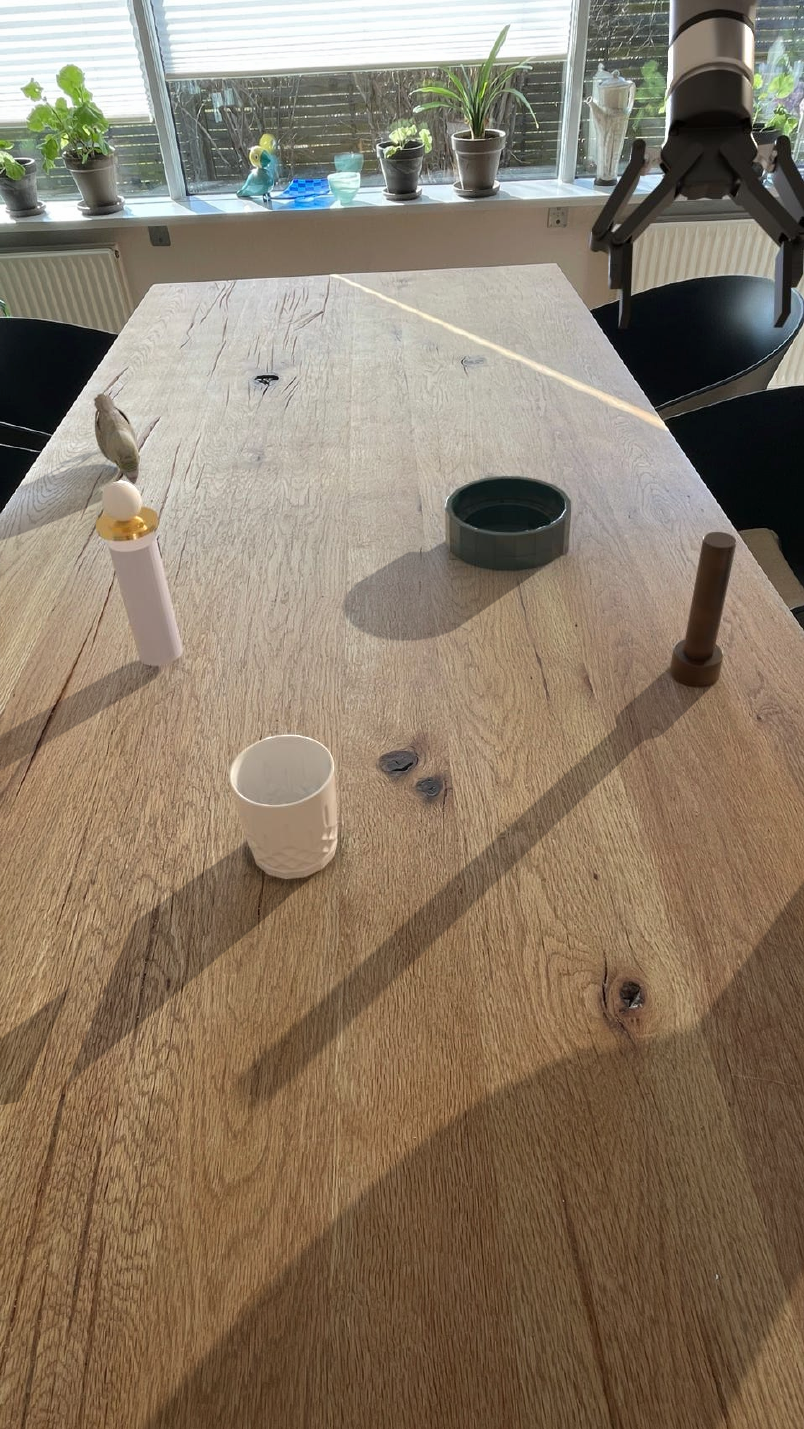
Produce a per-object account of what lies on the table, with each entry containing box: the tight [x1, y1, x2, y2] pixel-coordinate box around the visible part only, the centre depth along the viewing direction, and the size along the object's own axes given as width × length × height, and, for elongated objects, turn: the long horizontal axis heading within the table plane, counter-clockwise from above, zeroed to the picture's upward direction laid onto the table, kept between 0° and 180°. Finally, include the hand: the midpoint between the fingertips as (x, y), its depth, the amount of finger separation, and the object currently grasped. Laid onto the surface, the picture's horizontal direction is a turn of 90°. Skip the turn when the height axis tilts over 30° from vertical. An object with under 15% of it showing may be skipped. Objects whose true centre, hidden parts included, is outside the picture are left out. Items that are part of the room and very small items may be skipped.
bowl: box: [444, 475, 572, 572], centre depth 111 cm, size 14×14×6 cm
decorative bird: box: [93, 393, 141, 485], centre depth 135 cm, size 5×16×7 cm, turn 24°
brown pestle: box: [669, 531, 738, 689], centre depth 87 cm, size 5×5×16 cm
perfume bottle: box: [95, 480, 184, 667], centre depth 93 cm, size 6×6×20 cm
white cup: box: [228, 734, 339, 880], centre depth 74 cm, size 8×8×10 cm
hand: (702, 321), depth 84 cm, fingers open, 13 cm apart
